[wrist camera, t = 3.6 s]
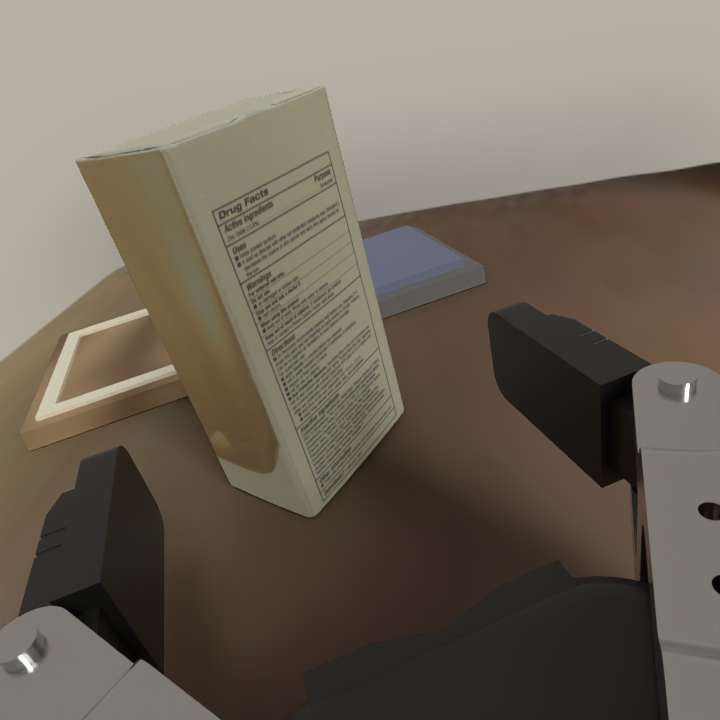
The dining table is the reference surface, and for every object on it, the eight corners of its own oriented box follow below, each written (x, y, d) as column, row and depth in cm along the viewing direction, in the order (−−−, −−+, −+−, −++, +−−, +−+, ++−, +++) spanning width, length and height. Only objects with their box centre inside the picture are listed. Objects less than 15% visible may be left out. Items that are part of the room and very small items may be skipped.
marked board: (245, 291, 39) (239, 275, 38) (272, 365, 28) (265, 345, 28) (68, 348, 37) (59, 332, 36) (29, 451, 27) (16, 431, 26)
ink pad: (417, 239, 40) (413, 219, 39) (486, 282, 31) (482, 257, 30) (282, 284, 38) (275, 263, 38) (315, 341, 30) (307, 316, 29)
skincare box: (326, 395, 25) (235, 99, 19) (409, 413, 22) (334, 78, 16) (221, 492, 21) (63, 153, 15) (308, 529, 18) (159, 137, 12)
